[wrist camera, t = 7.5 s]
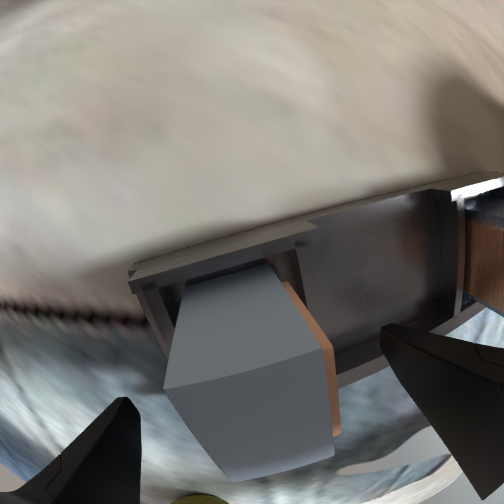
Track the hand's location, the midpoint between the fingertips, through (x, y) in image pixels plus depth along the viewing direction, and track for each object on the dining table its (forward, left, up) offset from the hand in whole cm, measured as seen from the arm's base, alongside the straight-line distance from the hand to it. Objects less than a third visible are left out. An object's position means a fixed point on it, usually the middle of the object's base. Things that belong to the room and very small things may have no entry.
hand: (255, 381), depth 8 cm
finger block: (0, 0, -4) cm, 4 cm away
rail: (0, -7, -5) cm, 9 cm away
